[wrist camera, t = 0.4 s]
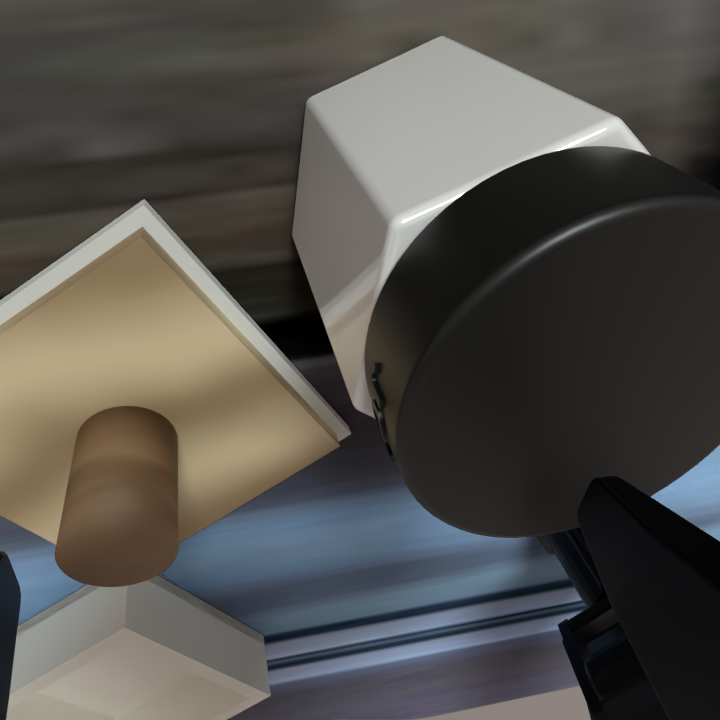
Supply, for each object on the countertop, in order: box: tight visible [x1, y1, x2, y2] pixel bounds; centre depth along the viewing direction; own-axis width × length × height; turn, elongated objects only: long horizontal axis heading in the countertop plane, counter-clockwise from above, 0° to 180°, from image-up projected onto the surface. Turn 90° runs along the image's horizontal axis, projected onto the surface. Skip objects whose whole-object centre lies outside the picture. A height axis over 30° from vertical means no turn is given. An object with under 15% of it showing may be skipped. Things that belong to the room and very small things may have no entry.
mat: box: [0, 199, 351, 441], centre depth 23 cm, size 13×13×1 cm
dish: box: [6, 575, 271, 720], centre depth 31 cm, size 11×11×4 cm
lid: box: [0, 227, 340, 587], centre depth 21 cm, size 12×12×6 cm
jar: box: [292, 36, 720, 538], centre depth 16 cm, size 9×8×12 cm
